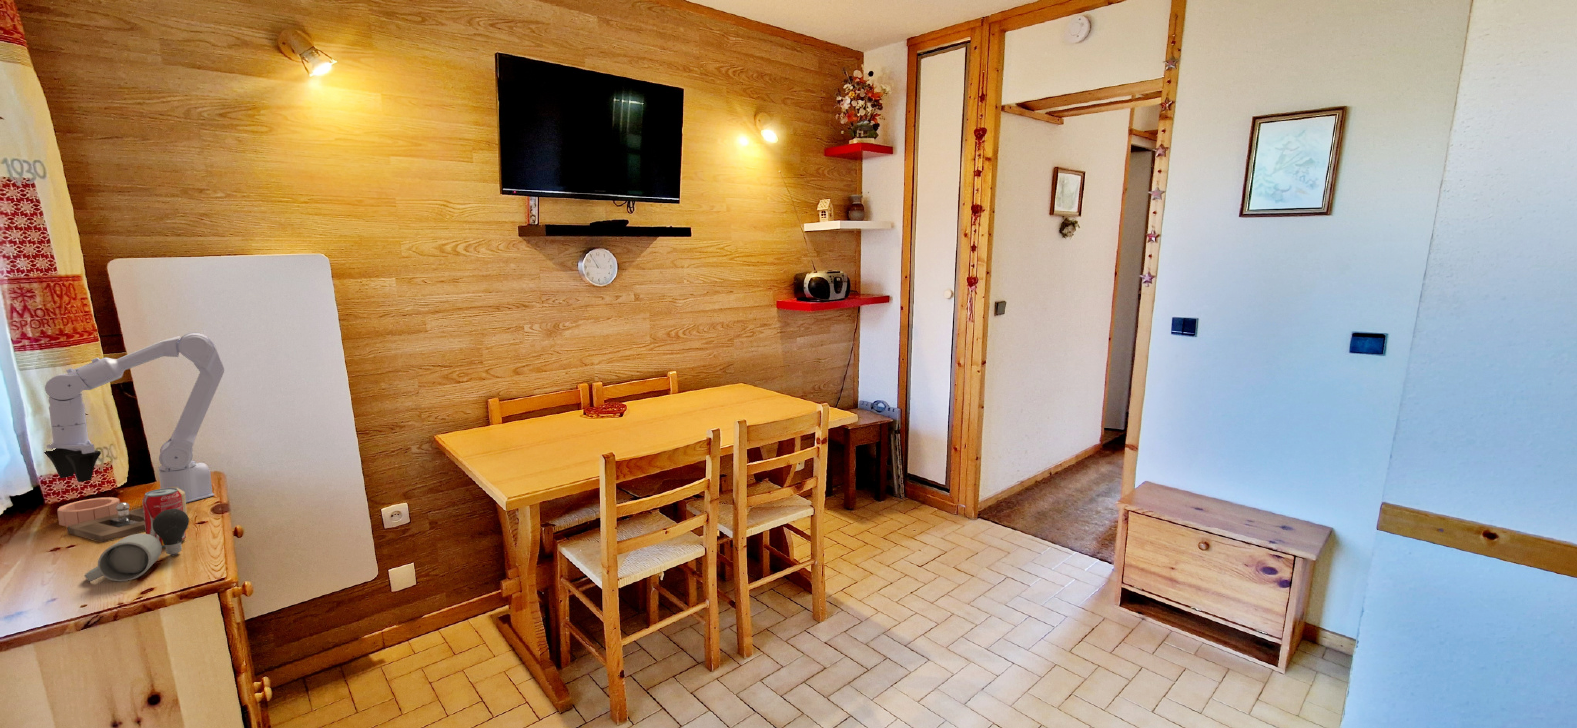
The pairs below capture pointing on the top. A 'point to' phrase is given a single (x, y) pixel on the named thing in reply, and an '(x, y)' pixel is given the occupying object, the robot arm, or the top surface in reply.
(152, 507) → the soda can
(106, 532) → the hook board
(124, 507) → the hook peg
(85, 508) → the coral ring
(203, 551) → the top surface
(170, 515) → the light bulb
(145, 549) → the ceramic mug
